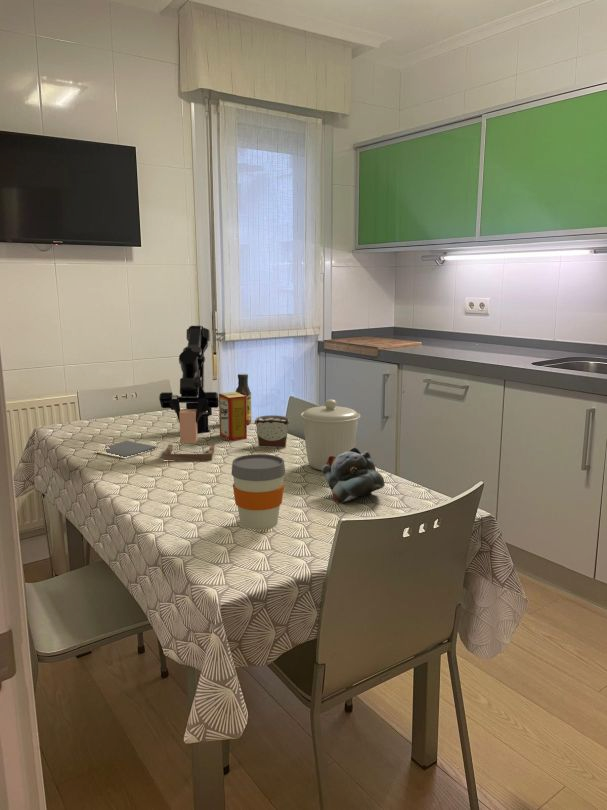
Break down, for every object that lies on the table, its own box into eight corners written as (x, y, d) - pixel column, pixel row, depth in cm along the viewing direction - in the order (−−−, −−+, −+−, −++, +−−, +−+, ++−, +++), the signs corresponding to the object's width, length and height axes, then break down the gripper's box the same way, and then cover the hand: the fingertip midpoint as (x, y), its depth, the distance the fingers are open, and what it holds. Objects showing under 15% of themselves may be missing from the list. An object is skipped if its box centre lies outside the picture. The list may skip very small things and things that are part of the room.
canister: (355, 477, 180) (357, 406, 176) (294, 473, 183) (295, 404, 179) (362, 460, 197) (363, 395, 193) (306, 456, 201) (307, 393, 197)
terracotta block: (182, 438, 203) (181, 409, 201) (197, 438, 203) (196, 409, 201) (180, 443, 198) (179, 412, 196) (196, 442, 198) (195, 412, 196)
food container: (292, 443, 217) (292, 415, 215) (290, 447, 211) (290, 419, 209) (257, 442, 219) (257, 414, 217) (254, 446, 213) (254, 418, 211)
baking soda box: (246, 438, 223) (246, 395, 220) (230, 440, 220) (229, 396, 217) (236, 433, 231) (235, 391, 228) (219, 435, 228) (218, 392, 225)
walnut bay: (168, 450, 207) (168, 444, 207) (214, 449, 208) (214, 444, 208) (163, 461, 195) (162, 455, 195) (211, 460, 196) (211, 454, 196)
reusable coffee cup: (285, 512, 153) (285, 453, 150) (285, 532, 141) (285, 469, 138) (234, 512, 153) (233, 453, 150) (230, 532, 140) (228, 469, 137)
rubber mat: (126, 443, 216) (126, 440, 216) (156, 449, 209) (156, 446, 208) (94, 452, 204) (94, 449, 204) (124, 459, 197) (124, 456, 197)
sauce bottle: (250, 425, 244) (250, 375, 240) (234, 425, 244) (233, 375, 240) (252, 421, 250) (251, 373, 246) (236, 421, 250) (236, 372, 246)
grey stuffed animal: (332, 506, 157) (316, 454, 160) (332, 508, 168) (318, 459, 171) (388, 489, 157) (372, 437, 160) (385, 492, 168) (370, 444, 171)
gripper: (158, 367, 199) (154, 408, 191) (217, 367, 200) (215, 408, 192) (163, 387, 208) (159, 427, 200) (219, 387, 210) (217, 426, 201)
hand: (188, 421), depth 198 cm, fingers closed on terracotta block, 5 cm apart
